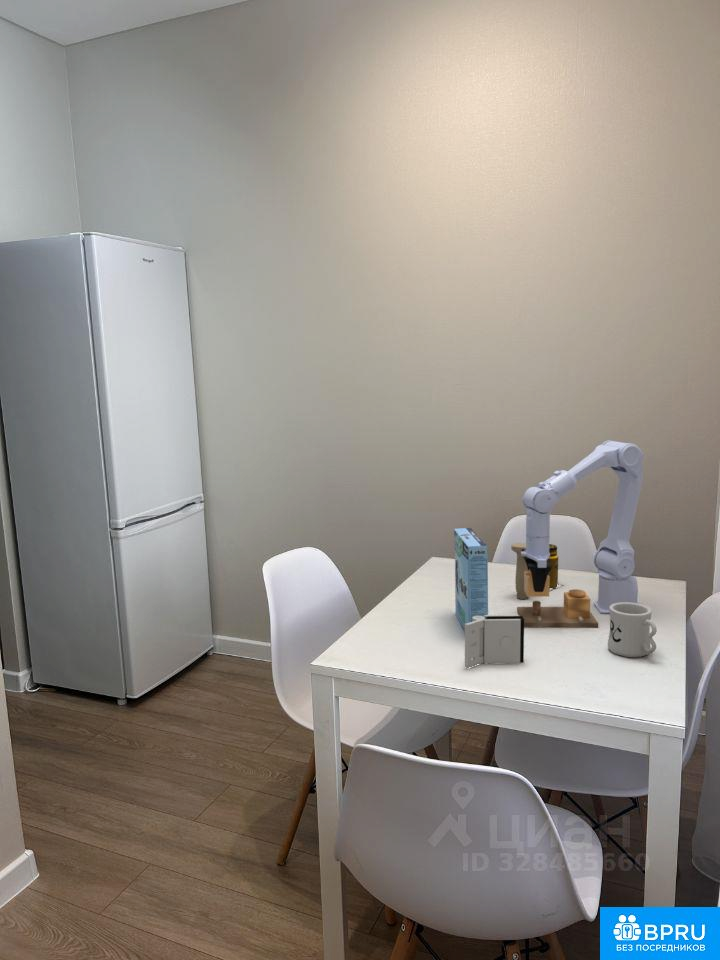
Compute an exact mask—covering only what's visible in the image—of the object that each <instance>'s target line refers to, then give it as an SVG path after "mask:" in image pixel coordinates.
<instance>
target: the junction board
mask: <svg viewBox="0 0 720 960" xmlns="http://www.w3.org/2000/svg"><path fill="white" fill-rule="evenodd" d="M541 604H542V603H541V601H539V600H532V606H517V607H516V612H517V615H519V616H523V618H524V628H557V629H558V628H561V629H562V628H565V629H566V628H568V629H569V628H576V629H577V628H578V629H580V628H581V629H582V628H583V629H584V628H587V629H588V628H592V629H594V628H599V621H598V620H597V619H596V617H595V616H594V615H593V613H592V612H591V598H590V597H589V595H588V594H587V592H586V591H585V590H583V589H577V588H576V589H570V590H569V591H568V592H563V606H541Z"/></svg>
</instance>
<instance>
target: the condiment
mask: <svg viewBox="0 0 720 960" xmlns="http://www.w3.org/2000/svg"><path fill="white" fill-rule="evenodd" d="M549 552H550V557H549V558H548V559H547V562H546V565H551V566H552V568H551V570H550V572H549V574H548V575H549V577H550V586H549V592H550V591H553V590H554V589H550V588H556V587H557V584H560V585H563V584H561V583H559V555H558V546H557V545H555V544H551V543H549ZM556 589H557V588H556Z"/></svg>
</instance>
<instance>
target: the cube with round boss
mask: <svg viewBox="0 0 720 960" xmlns="http://www.w3.org/2000/svg"><path fill="white" fill-rule="evenodd" d="M549 586H550V577H549V575H548V576H547V579H546V583H545V587H544V591H543V592H535V591H534V587H533V580H532V575H531V571H530V569H529V571H524V591H525V593H526V595H527V597H528V598H530V597H532V598H533V597H534V598H535V597H542V598H543V597H545V598H546V597H549V598H550V591H549Z"/></svg>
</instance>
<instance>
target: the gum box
mask: <svg viewBox="0 0 720 960" xmlns="http://www.w3.org/2000/svg"><path fill="white" fill-rule="evenodd" d="M453 531H454V587H455V588H454V589H455V590H454V591H455V592H454V593H455V600H454V601H455V606H454V607H455V614H456V617H457V620H458V621H459V623H460V625H461V627H462V629H463V631H464V632H465V624H466V623H470V622H472V617H473V616H483V617H484V615H489V575H488V574H489V572H488V569H489V565H488V563H489V560H488V559H489V557H488V555H489V553H488V550H489V549H488V545H487V544H486V543H485V542H484V541H483V539H482V538H481V537H480V536H479V535H478V534H477V533H476V531H474V529H473V528H472V527H464V528H463V527H462V528H461V527H460V528H454V529H453Z"/></svg>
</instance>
